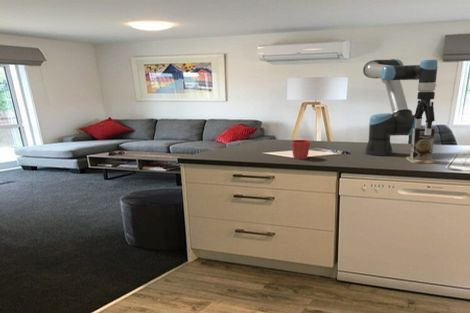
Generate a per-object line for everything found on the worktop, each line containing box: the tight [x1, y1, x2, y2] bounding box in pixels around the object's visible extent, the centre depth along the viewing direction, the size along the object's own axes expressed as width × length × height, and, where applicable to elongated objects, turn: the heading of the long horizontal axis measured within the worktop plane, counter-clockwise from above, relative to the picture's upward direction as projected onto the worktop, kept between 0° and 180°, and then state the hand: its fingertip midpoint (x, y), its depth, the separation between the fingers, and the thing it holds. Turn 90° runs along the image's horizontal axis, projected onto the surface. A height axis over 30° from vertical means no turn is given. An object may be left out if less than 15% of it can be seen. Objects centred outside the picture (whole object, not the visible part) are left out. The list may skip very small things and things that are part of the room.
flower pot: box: [291, 139, 311, 160], centre depth 193 cm, size 11×11×10 cm
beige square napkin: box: [405, 156, 437, 164], centre depth 177 cm, size 11×11×1 cm
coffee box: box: [409, 127, 435, 160], centre depth 175 cm, size 9×6×16 cm
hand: (422, 133), depth 174 cm, fingers open, 13 cm apart
